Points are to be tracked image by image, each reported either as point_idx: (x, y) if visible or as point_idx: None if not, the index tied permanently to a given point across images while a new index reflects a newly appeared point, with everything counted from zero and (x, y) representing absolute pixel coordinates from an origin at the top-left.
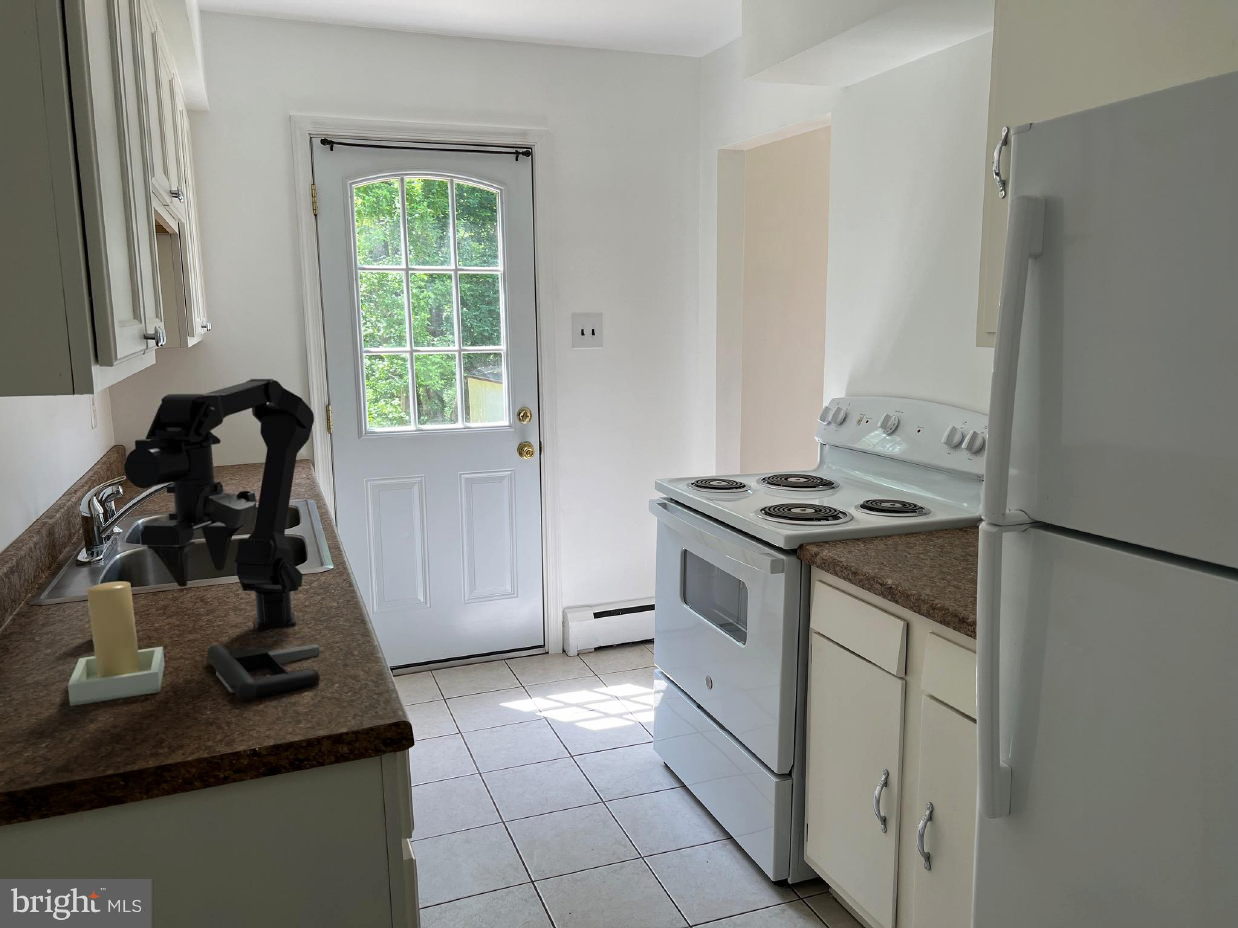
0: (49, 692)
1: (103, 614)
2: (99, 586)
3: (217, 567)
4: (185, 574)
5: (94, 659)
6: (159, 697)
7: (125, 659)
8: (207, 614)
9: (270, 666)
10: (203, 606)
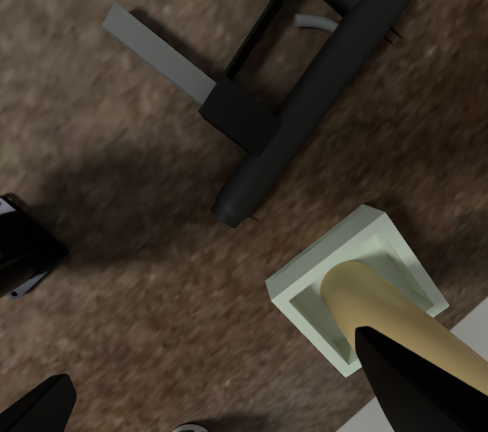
0: None
1: None
2: None
3: (64, 405)
4: (426, 368)
5: (341, 356)
6: (381, 187)
7: (389, 285)
8: None
9: (241, 61)
10: None
